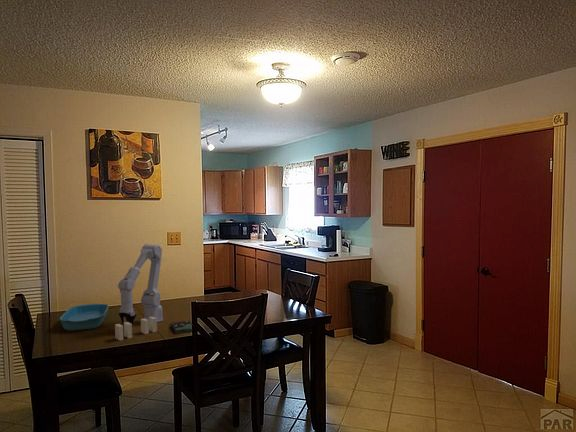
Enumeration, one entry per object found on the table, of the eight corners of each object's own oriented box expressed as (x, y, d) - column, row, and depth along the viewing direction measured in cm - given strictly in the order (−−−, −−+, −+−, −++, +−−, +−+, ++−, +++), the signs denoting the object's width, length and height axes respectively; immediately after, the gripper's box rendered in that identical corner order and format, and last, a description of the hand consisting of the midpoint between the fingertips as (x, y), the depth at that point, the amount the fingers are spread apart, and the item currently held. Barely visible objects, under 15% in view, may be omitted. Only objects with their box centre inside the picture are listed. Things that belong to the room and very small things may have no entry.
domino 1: (119, 337, 210) (118, 323, 210) (123, 339, 206) (123, 325, 206) (115, 338, 209) (114, 324, 208) (119, 340, 205) (119, 326, 205)
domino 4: (152, 329, 223) (152, 316, 222) (157, 331, 219) (156, 318, 219) (149, 330, 221) (148, 317, 221) (153, 332, 218) (153, 319, 217)
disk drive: (170, 328, 227) (175, 335, 214) (169, 322, 227) (175, 329, 213) (189, 325, 231) (195, 332, 218) (188, 320, 231) (195, 326, 218)
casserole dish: (101, 330, 222) (101, 317, 222) (55, 335, 216) (55, 321, 216) (111, 313, 258) (111, 301, 258) (71, 316, 252) (71, 304, 252)
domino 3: (144, 331, 219) (144, 318, 219) (149, 333, 216) (148, 320, 216) (141, 332, 218) (140, 319, 218) (145, 334, 215) (145, 320, 214)
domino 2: (128, 335, 213) (127, 321, 213) (132, 337, 210) (131, 323, 209) (124, 336, 212) (123, 322, 212) (128, 338, 208) (127, 324, 208)
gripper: (113, 300, 224) (114, 325, 224) (125, 305, 213) (125, 331, 214) (126, 298, 228) (127, 322, 229) (138, 302, 218) (139, 328, 219)
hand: (127, 326), depth 222 cm, fingers open, 6 cm apart
